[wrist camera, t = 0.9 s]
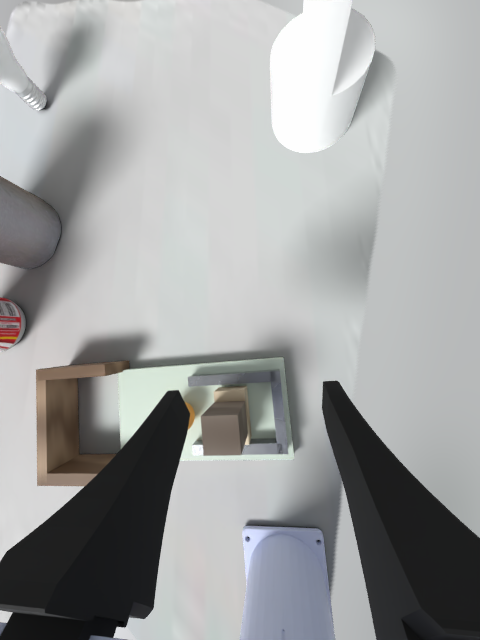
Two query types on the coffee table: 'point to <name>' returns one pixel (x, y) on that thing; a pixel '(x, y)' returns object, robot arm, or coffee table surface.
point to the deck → (201, 401)
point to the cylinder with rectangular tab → (319, 74)
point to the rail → (280, 442)
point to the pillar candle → (26, 227)
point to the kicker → (226, 422)
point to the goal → (66, 425)
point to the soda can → (10, 324)
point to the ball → (192, 414)
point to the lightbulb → (18, 77)
